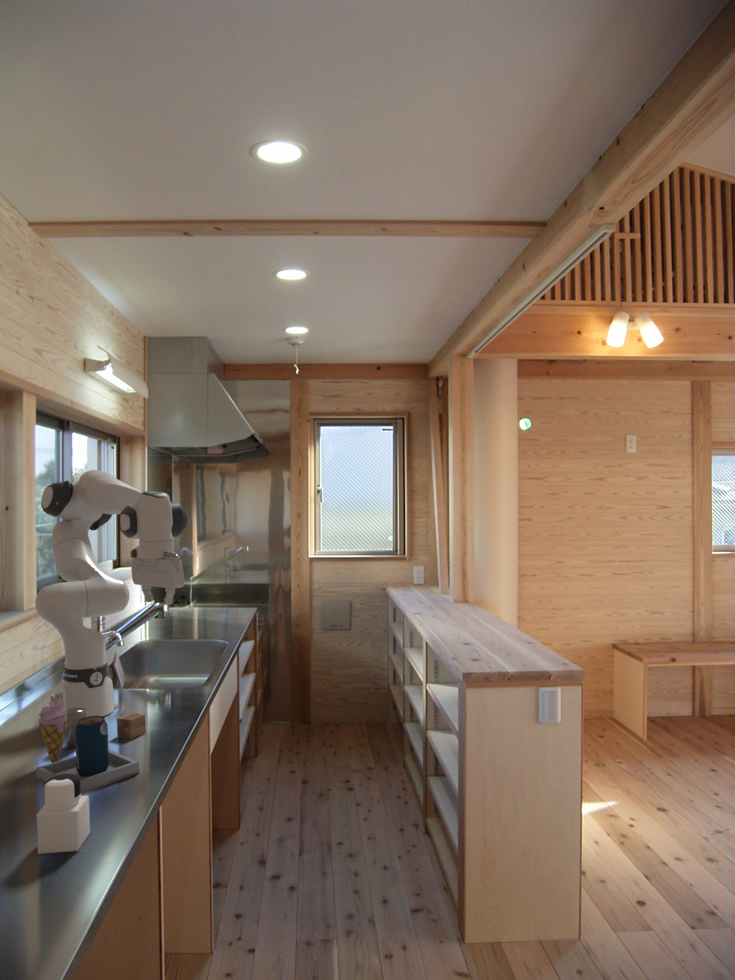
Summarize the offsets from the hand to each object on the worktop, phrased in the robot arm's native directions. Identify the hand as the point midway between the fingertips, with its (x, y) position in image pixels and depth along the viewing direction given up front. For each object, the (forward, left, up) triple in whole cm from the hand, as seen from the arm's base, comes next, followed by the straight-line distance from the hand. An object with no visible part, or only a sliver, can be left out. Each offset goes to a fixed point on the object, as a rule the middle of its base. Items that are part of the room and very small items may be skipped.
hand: (158, 603), depth 192 cm
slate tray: (+14, -28, -34) cm, 46 cm away
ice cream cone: (0, -29, -34) cm, 45 cm away
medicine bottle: (+41, -46, -34) cm, 71 cm away
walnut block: (-4, -7, -34) cm, 35 cm away
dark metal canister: (-8, -20, -34) cm, 40 cm away
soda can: (+14, -27, -34) cm, 45 cm away
